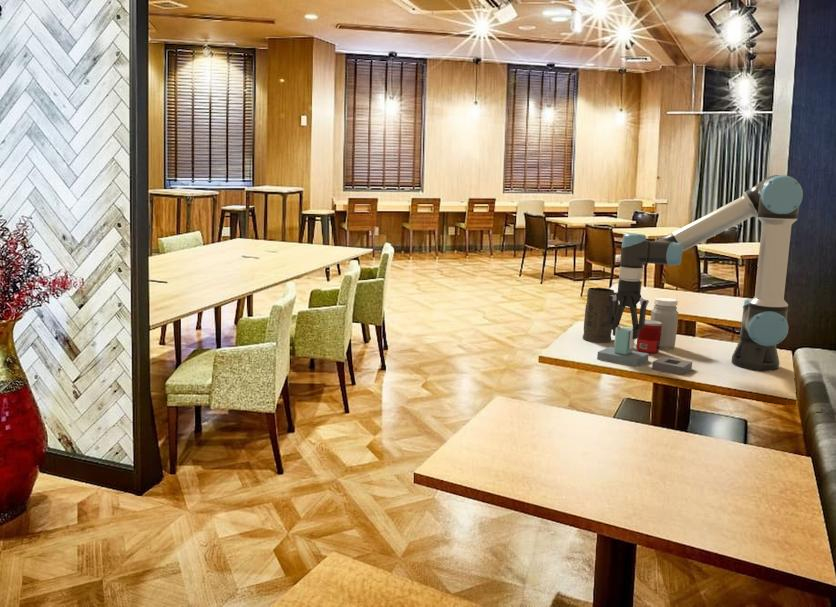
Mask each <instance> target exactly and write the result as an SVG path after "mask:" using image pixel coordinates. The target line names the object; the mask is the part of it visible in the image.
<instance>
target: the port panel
mask: <svg viewBox="0 0 836 607" xmlns="http://www.w3.org/2000/svg"><path fill="white" fill-rule="evenodd" d="M596 356H597V357H596V359H597V360H600V359H602V360H601V361H605V360H606V361H607V362H612V363H615V362H616V363H617V364H622V365H627V366H632V367H639V366H641V365H642V364H643V365H644V363H646V362H648V361H649V356H650V354H648V353H643V352H638V351H637V350H632V352H630V354H628V355H623V354H617V353H615V346H609V347H606V348H603V349H601V350H599V351H597V355H596Z"/></svg>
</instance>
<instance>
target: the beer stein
mask: <svg viewBox="0 0 836 607" xmlns="http://www.w3.org/2000/svg"><path fill="white" fill-rule="evenodd" d="M616 294H617V292H615V290H614V289H610V288H605V287H588V288H587V296H586V304H585V310H584V319H583V320H584V321H583V334H582V339H583V340H584V341H587V342H591V343H604V344H605V343H610V342H612V334H613V325H611V324H609V323H608V318H609V305H610V302H609V298H608V297H609V296H611V295H616ZM619 303H620V302H619V301H618V299H616V305H615V317H616V314H617V311H618V306H619ZM615 317H614V320H615Z"/></svg>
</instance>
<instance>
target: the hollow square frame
mask: <svg viewBox="0 0 836 607" xmlns="http://www.w3.org/2000/svg"><path fill="white" fill-rule="evenodd" d="M651 364H652V365H651V369H652V370H655V371H660V372H666V373H671V374H676V375H684V374H686V373H688V372H689V371H691V370H692V368H693V361H689V360H684V359H679V358H673V357H667V356H661V357H659V358H657V359H655V360H653V361H652V363H651Z"/></svg>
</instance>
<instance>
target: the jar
mask: <svg viewBox="0 0 836 607" xmlns="http://www.w3.org/2000/svg"><path fill="white" fill-rule="evenodd" d="M678 302H679V301H678V299H676V298H673V297H663V296H662V297H659V296H658V297H655V298H654V305H653V308H652V309H651V313H650V320H654V321H659V322H661V323H662V329H661V338H660V348H659V350H672V349H674V347H675V346H676V338H677V330H678V319H679V311H678V307H677V306H678Z"/></svg>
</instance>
